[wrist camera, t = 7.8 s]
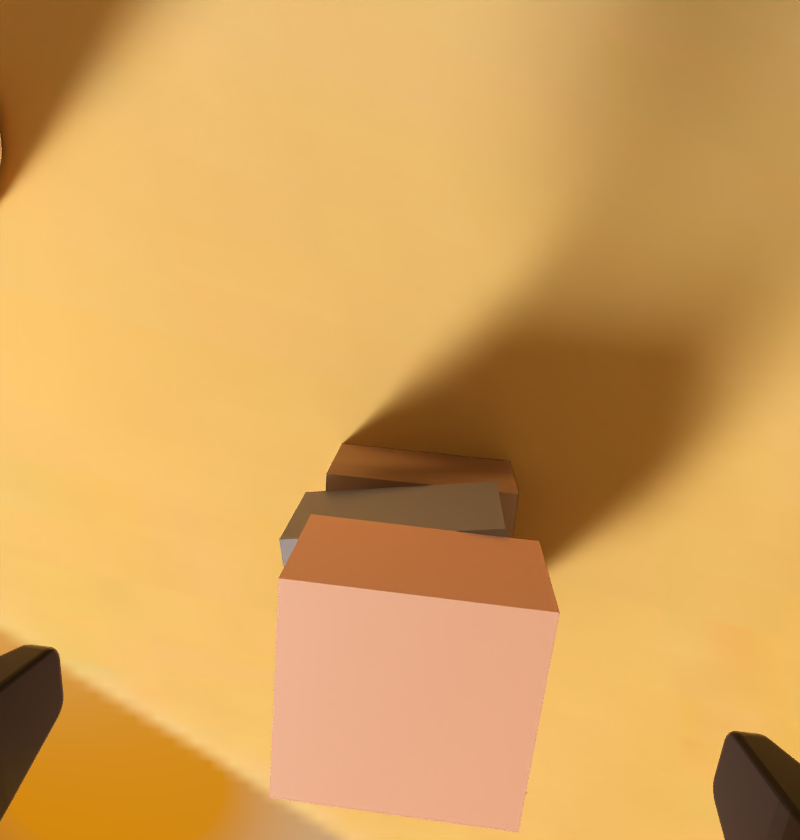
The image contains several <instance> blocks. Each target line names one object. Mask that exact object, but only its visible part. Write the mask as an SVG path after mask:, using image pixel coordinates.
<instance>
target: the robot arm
mask: <svg viewBox="0 0 800 840" xmlns="http://www.w3.org/2000/svg"><path fill="white" fill-rule="evenodd" d="M62 704H63V687H62V676H61V666H60V657H59V653H58V652H57V650H56V649H54V648H52V647H46V646H38V645H24V646H21V647H19V648H17V649H14V650H12V651H10V652H8V653H6V654H3V655H1V656H0V821H1V819H2V817H3V815H4V814H5V812H6V810H7V809H8V807H9V805H10V803H11V801H12V800H13V798H14V796H15V794H16V792H17V791H18V789H19V787H20V785H21V783H22V781H23V779H24V778H25V776H26V774H27V772H28V771H29V769H30V767H31V765H32V763H33V762H34V760H35V758H36V756H37V754H38V752H39V751H40V749H41V747H42V745H43V743H44V742H45V740H46V738H47V736H48V734H49V733H50V731H51V729H52V727H53V725H54V723H55V722H56V720H57V718H58V715H59V714H60V711H61V708H62ZM713 794H714V800H715V804H716V808H717V812H718V816H719V819H720V823H721V827H722V831H723V834H724V838H725V840H800V763H799V762H797V761H796V760H795V759H794V758H792V757H791V756H790V755H789V754H787V753H786V752H785V751H784V750H782V749H781V748H780V747H779V746H777V745H776V744H775V743H774V742H772V741H771V740H770V739H769V738H767V737H766V736H764V735H761V734H756V733H748V732H740V731H733V732H730V733H729V734H728V735H727V736H726V738H725V741H724V744H723V748H722V751H721V755H720V759H719V762H718V766H717V769H716V773H715V777H714V782H713Z"/></svg>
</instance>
